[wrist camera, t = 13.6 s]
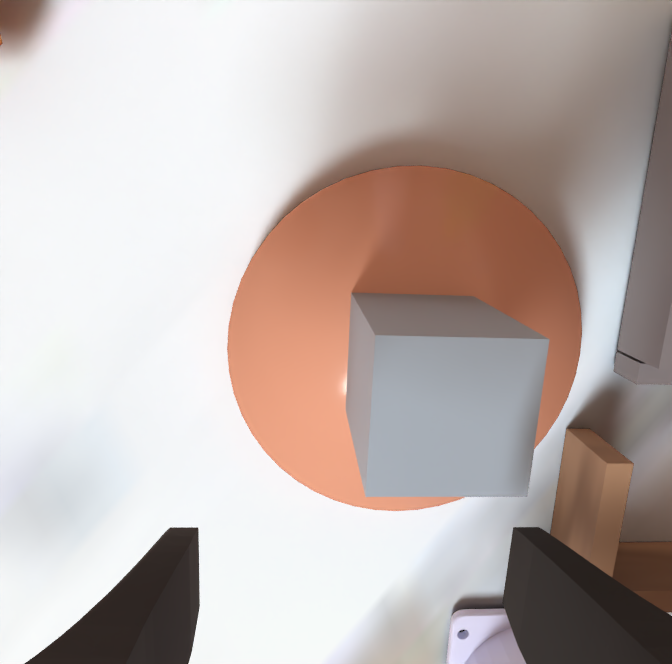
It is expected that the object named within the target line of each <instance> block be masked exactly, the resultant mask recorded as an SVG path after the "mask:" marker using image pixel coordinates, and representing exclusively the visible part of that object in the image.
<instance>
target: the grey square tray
mask: <svg viewBox="0 0 672 664" xmlns="http://www.w3.org/2000/svg"><path fill="white" fill-rule="evenodd" d="M617 350H619V351H621V352H617V353H616V359H615V365H614V372H615V373H617V374H619V375H621V376H623V377H625V378H626V379H628V380H630V381H632V382H634V383H635V384H664V385H672V32H671V38H670V44H669V50H668V56H667V62H666V67H665V73H664V79H663V85H662V91H661V97H660V102H659V108H658V114H657V120H656V126H655V132H654V137H653V143H652V149H651V155H650V161H649V167H648V172H647V178H646V184H645V190H644V196H643V202H642V207H641V213H640V219H639V225H638V231H637V237H636V242H635V248H634V254H633V260H632V266H631V272H630V277H629V283H628V289H627V295H626V301H625V307H624V312H623V318H622V324H621V330H620V336H619V342H618V347H617Z"/></svg>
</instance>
